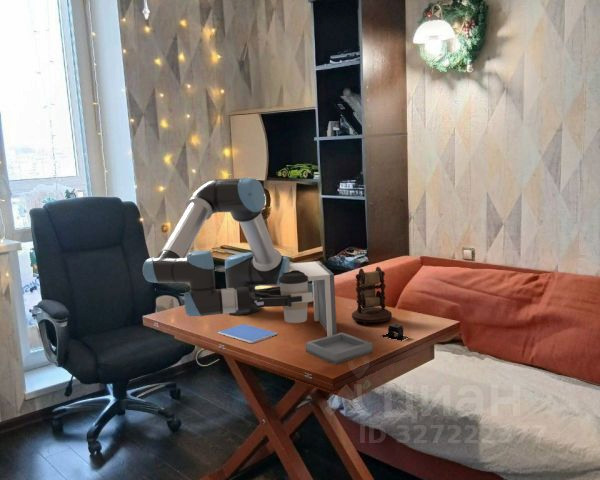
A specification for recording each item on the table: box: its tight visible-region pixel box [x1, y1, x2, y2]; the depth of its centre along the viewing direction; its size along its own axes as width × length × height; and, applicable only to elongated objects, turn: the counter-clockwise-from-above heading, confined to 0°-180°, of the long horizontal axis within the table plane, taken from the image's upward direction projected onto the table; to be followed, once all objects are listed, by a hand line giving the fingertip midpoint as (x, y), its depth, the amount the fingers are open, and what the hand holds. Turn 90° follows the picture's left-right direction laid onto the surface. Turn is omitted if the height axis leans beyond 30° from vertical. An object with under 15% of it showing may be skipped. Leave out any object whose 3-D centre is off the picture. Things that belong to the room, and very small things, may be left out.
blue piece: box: [217, 323, 278, 344], centre depth 210 cm, size 19×13×1 cm, turn 45°
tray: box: [305, 332, 373, 365], centre depth 186 cm, size 15×15×3 cm
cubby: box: [290, 260, 338, 337], centre depth 208 cm, size 24×11×22 cm, turn 10°
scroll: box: [351, 266, 393, 326], centre depth 216 cm, size 15×15×20 cm
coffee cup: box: [279, 270, 309, 324], centre depth 181 cm, size 9×9×15 cm
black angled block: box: [382, 323, 409, 342], centre depth 197 cm, size 12×7×5 cm, turn 45°
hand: (309, 293), depth 182 cm, fingers closed on coffee cup, 8 cm apart
